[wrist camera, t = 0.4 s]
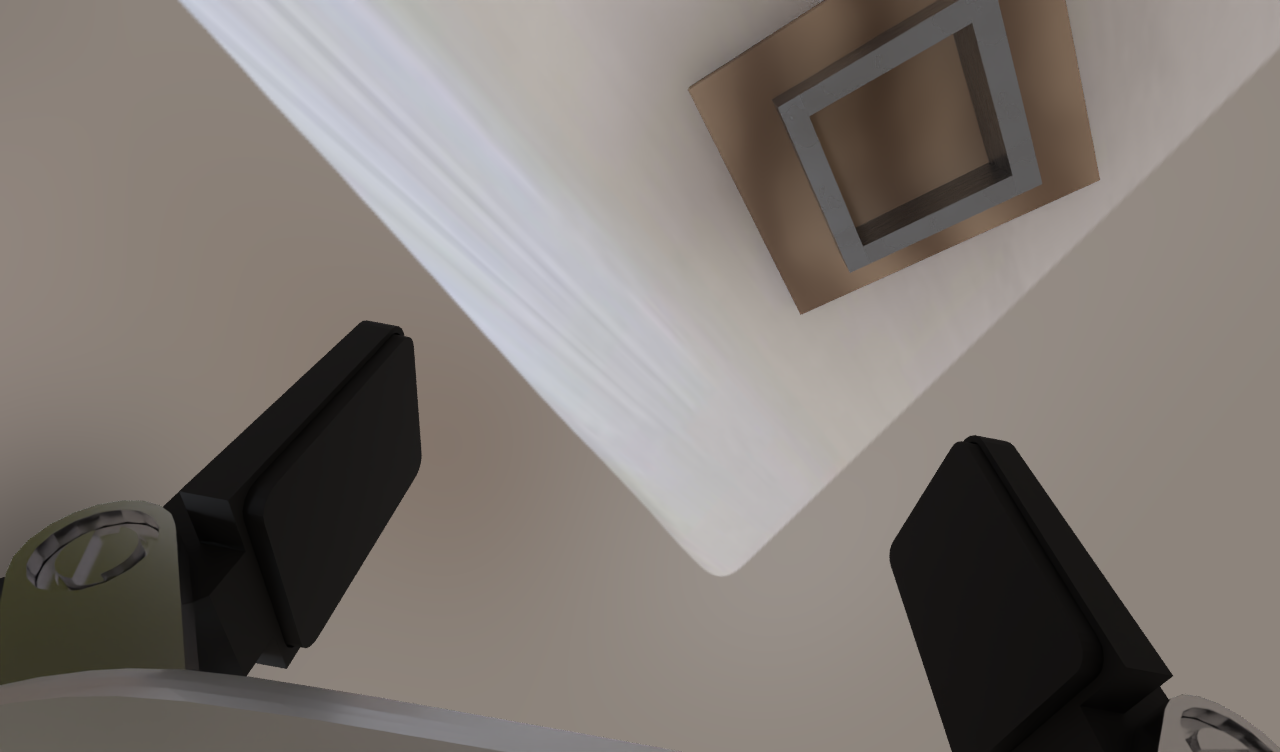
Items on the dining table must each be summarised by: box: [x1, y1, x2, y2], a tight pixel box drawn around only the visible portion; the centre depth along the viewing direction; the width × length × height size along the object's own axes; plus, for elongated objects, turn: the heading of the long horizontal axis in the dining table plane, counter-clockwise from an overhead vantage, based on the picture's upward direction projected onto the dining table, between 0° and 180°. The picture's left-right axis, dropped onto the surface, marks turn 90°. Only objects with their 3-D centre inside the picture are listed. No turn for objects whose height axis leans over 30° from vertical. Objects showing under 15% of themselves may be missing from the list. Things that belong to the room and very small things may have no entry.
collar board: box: [688, 0, 1100, 314], centre depth 33 cm, size 18×16×1 cm
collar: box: [772, 0, 1042, 273], centre depth 31 cm, size 10×10×3 cm
